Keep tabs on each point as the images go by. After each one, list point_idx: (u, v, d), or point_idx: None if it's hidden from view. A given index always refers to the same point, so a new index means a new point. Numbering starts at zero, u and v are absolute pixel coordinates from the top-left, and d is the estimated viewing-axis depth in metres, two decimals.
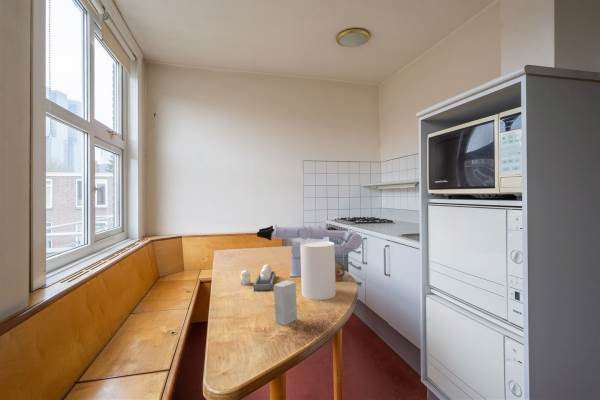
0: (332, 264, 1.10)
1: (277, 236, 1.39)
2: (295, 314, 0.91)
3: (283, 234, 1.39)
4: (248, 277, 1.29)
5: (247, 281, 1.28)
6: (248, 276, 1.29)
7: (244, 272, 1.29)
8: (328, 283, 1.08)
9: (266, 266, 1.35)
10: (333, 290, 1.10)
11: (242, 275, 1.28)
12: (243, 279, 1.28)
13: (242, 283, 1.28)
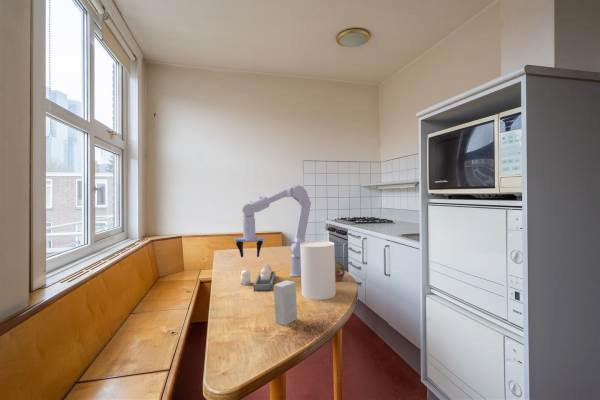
0: (332, 264, 1.10)
1: None
2: (295, 314, 0.91)
3: None
4: (248, 277, 1.29)
5: (247, 281, 1.28)
6: (248, 276, 1.29)
7: (244, 272, 1.29)
8: (328, 283, 1.08)
9: (266, 266, 1.35)
10: (333, 290, 1.10)
11: (242, 275, 1.28)
12: (243, 279, 1.28)
13: (242, 283, 1.28)
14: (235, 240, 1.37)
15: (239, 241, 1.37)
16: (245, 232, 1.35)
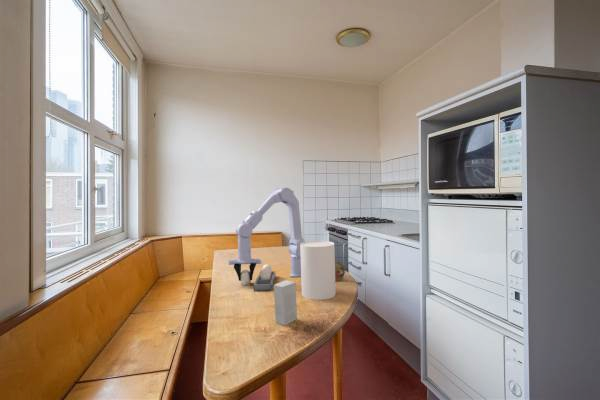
0: (332, 264, 1.10)
1: None
2: (295, 314, 0.91)
3: None
4: (248, 277, 1.29)
5: (247, 281, 1.28)
6: (248, 276, 1.29)
7: (244, 272, 1.29)
8: (328, 283, 1.08)
9: (266, 266, 1.35)
10: (333, 290, 1.10)
11: (242, 275, 1.28)
12: (243, 279, 1.28)
13: (242, 283, 1.28)
14: (229, 262, 1.29)
15: (234, 263, 1.29)
16: (240, 254, 1.27)
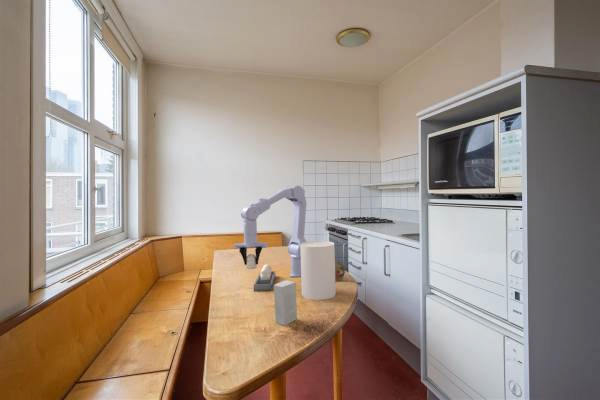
0: (332, 264, 1.10)
1: None
2: (295, 314, 0.91)
3: (256, 235, 1.28)
4: (254, 261, 1.26)
5: (253, 265, 1.26)
6: (254, 260, 1.26)
7: (250, 256, 1.26)
8: (328, 283, 1.08)
9: (266, 266, 1.35)
10: (333, 290, 1.10)
11: (248, 258, 1.26)
12: (249, 263, 1.25)
13: (248, 267, 1.26)
14: (235, 246, 1.26)
15: (239, 247, 1.27)
16: (246, 237, 1.25)
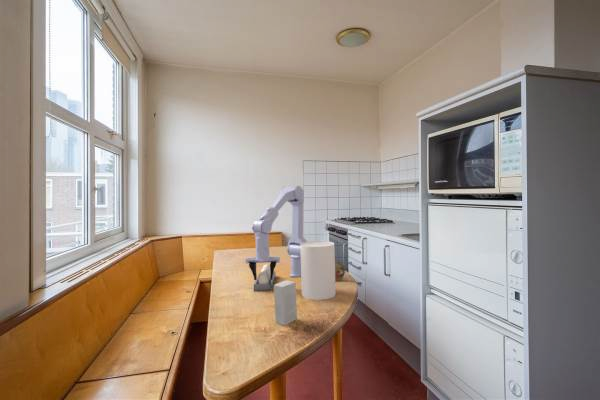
0: (332, 264, 1.10)
1: None
2: (295, 314, 0.91)
3: None
4: (267, 279, 1.22)
5: None
6: (267, 278, 1.22)
7: (262, 274, 1.22)
8: (328, 283, 1.08)
9: (266, 266, 1.35)
10: (333, 290, 1.10)
11: (261, 277, 1.21)
12: (261, 282, 1.21)
13: None
14: (247, 261, 1.22)
15: (251, 262, 1.23)
16: (258, 252, 1.21)
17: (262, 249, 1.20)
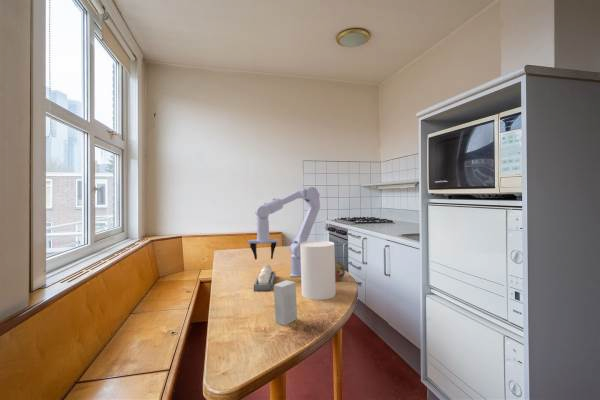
0: (332, 264, 1.10)
1: None
2: (295, 314, 0.91)
3: (268, 232, 1.38)
4: (266, 279, 1.22)
5: None
6: (266, 278, 1.22)
7: (262, 274, 1.22)
8: (328, 283, 1.08)
9: (266, 266, 1.35)
10: (333, 290, 1.10)
11: (261, 277, 1.21)
12: (261, 282, 1.21)
13: None
14: (249, 242, 1.36)
15: (253, 243, 1.37)
16: (259, 234, 1.35)
17: (263, 231, 1.34)
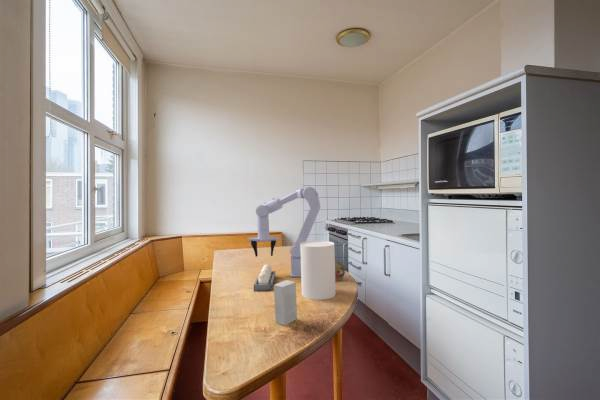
0: (332, 264, 1.10)
1: None
2: (295, 314, 0.91)
3: None
4: (266, 279, 1.22)
5: None
6: (266, 278, 1.22)
7: (262, 274, 1.22)
8: (328, 283, 1.08)
9: (266, 266, 1.35)
10: (333, 290, 1.10)
11: (261, 277, 1.21)
12: (261, 282, 1.21)
13: None
14: (250, 240, 1.43)
15: (254, 241, 1.43)
16: (259, 232, 1.41)
17: (263, 230, 1.41)
